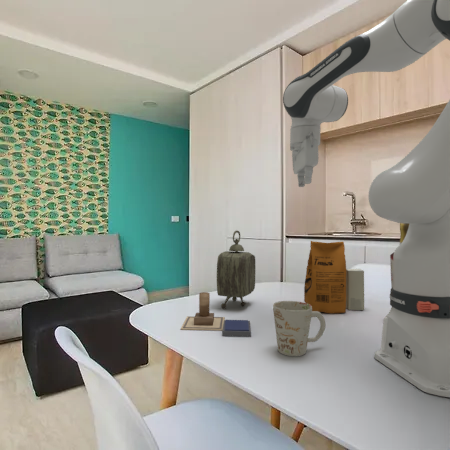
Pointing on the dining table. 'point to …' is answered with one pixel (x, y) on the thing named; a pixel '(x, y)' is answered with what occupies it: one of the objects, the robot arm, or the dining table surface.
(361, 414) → the dining table surface
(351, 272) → the box
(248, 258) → the tabletop clock
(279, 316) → the mug
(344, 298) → the coffee package
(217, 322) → the card
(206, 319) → the stamp
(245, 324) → the ink pad
